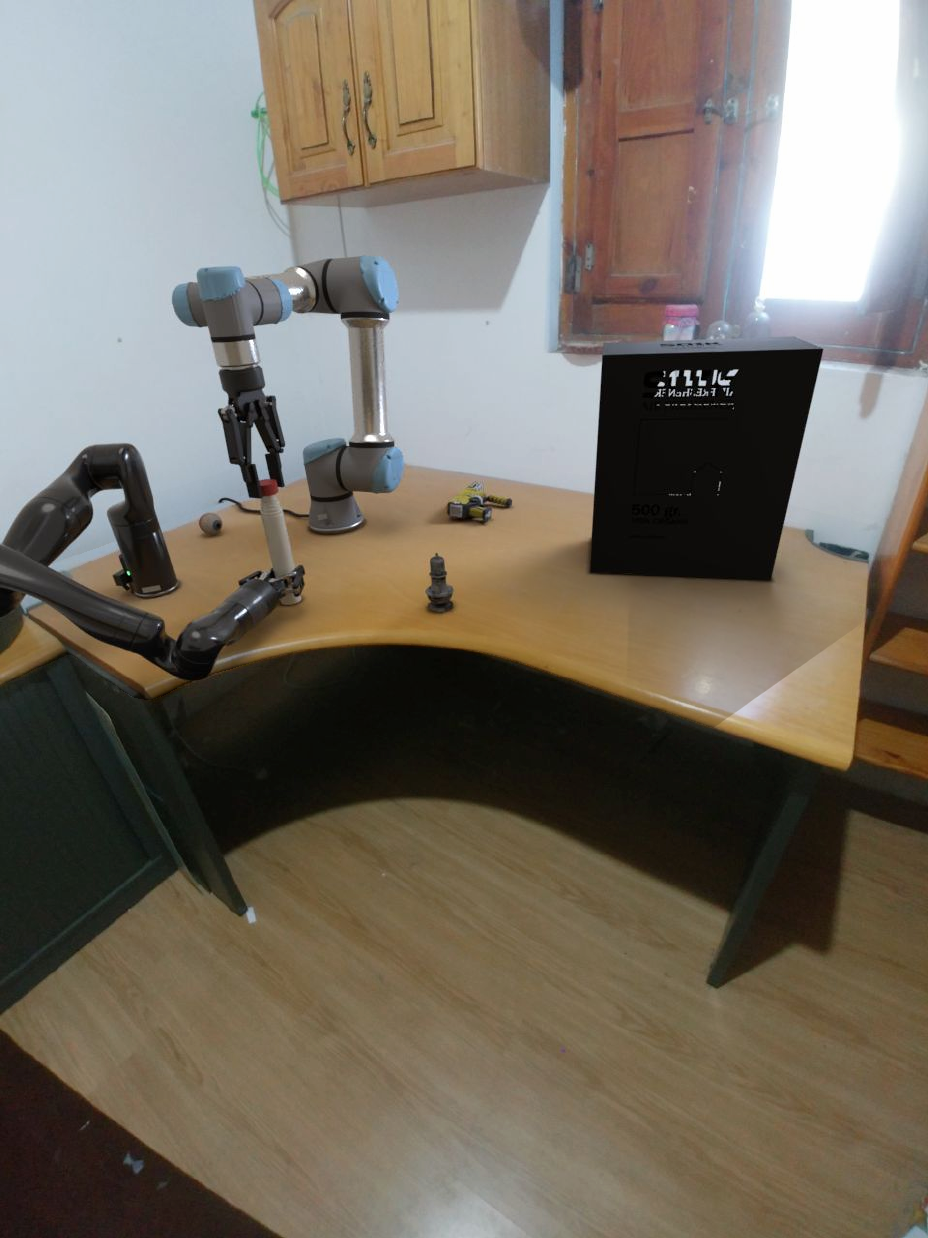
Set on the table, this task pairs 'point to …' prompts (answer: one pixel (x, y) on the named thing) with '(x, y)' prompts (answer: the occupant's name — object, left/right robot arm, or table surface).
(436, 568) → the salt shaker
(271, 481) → the cap
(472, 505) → the toy gun
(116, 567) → the table surface
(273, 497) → the bottle
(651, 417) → the cardboard box
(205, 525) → the eyeball
